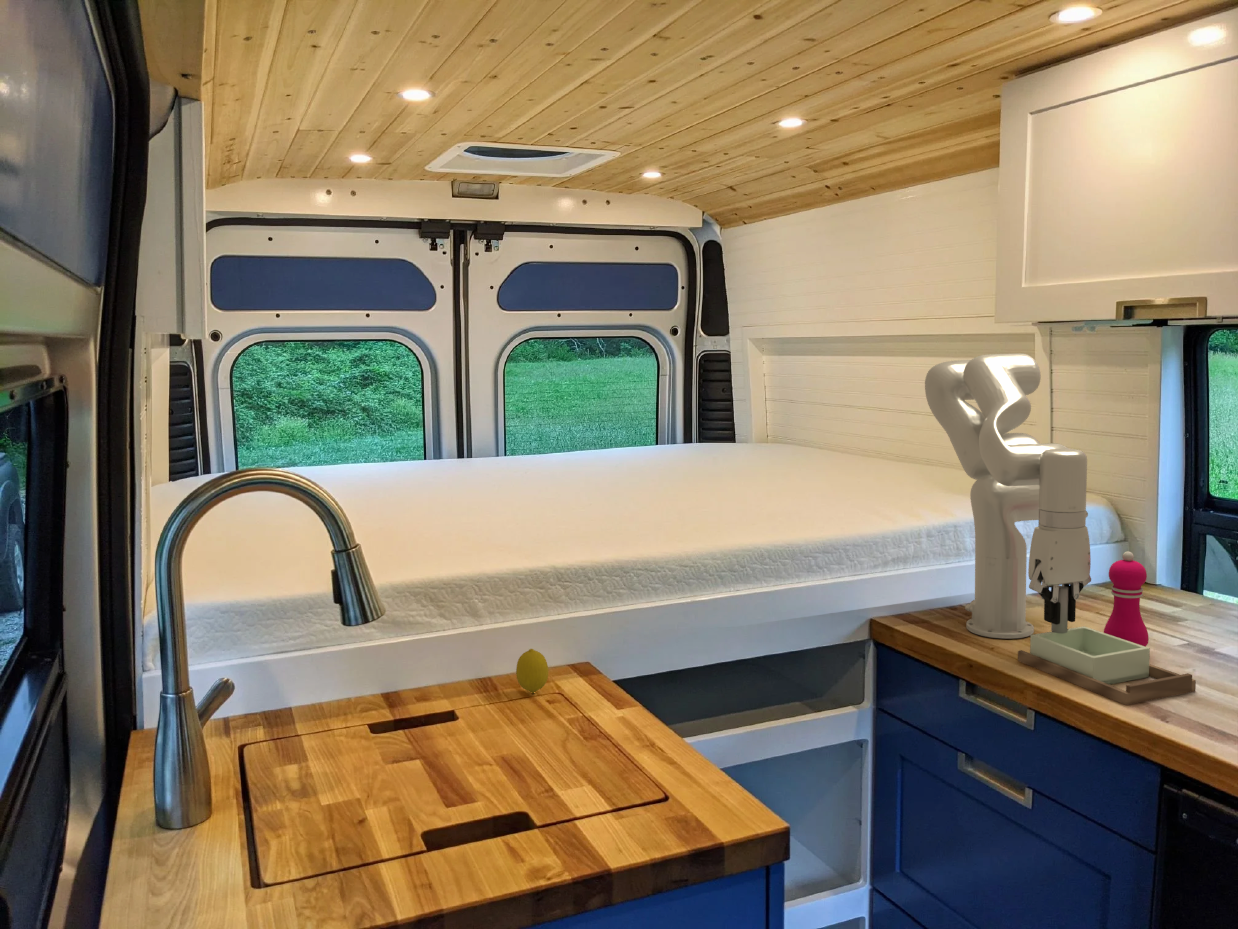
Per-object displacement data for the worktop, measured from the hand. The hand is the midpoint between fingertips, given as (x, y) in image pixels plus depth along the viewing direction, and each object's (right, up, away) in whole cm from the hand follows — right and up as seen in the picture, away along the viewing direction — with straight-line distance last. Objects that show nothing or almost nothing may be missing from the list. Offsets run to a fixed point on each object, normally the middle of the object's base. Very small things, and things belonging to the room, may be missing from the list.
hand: (1059, 620), depth 172 cm
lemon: (-93, -12, -4) cm, 94 cm away
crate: (+2, -8, -5) cm, 10 cm away
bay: (+4, -9, -8) cm, 13 cm away
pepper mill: (+13, -8, +2) cm, 15 cm away
